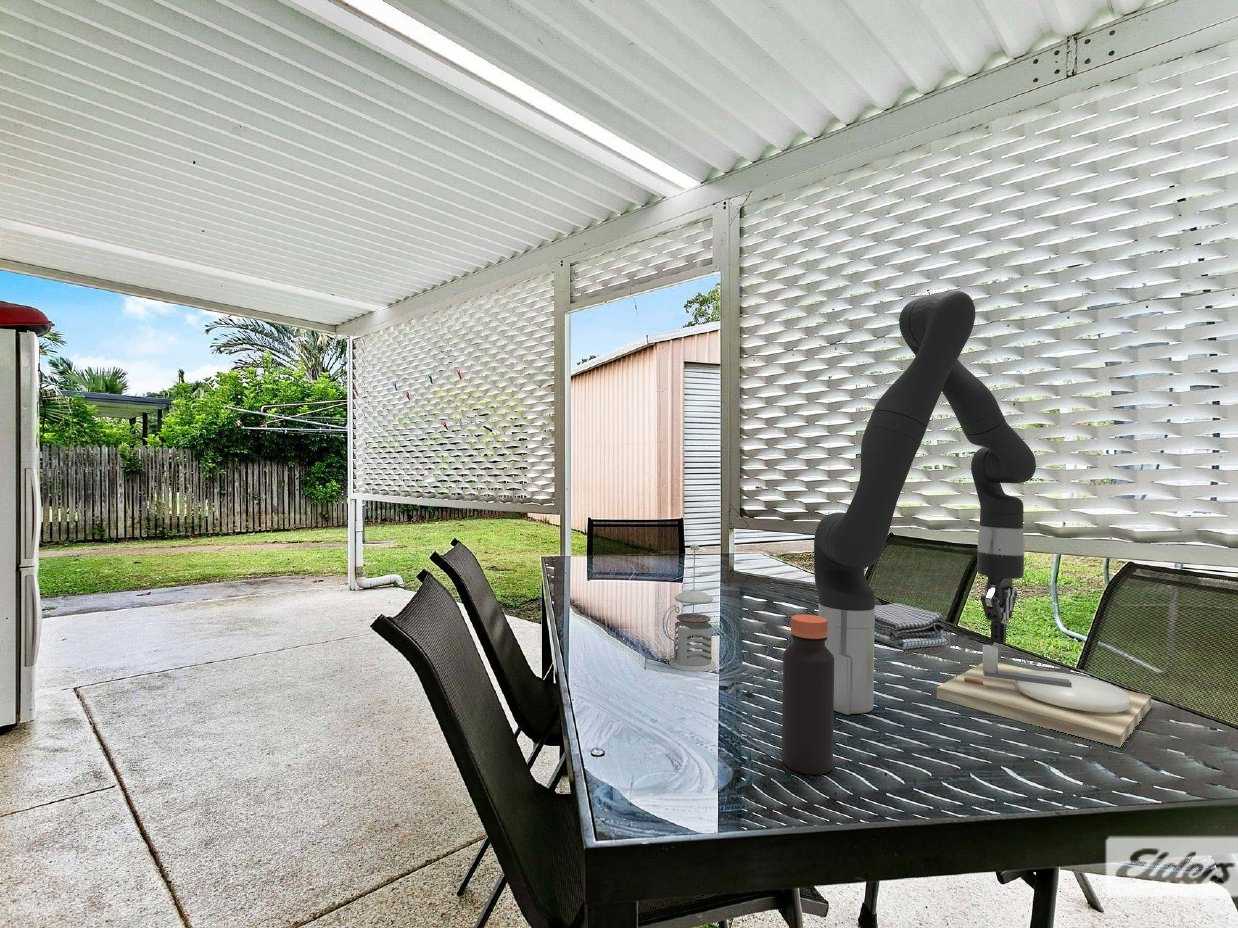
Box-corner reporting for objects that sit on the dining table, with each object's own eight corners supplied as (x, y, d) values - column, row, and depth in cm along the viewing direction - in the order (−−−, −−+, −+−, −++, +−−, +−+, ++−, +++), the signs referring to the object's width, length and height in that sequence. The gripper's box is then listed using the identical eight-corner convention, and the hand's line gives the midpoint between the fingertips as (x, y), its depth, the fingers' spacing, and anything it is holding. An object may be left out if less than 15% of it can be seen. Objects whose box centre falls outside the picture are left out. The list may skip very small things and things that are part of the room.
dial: (1155, 714, 98) (1155, 672, 98) (1021, 708, 100) (1021, 667, 100) (1086, 680, 114) (1087, 644, 114) (971, 676, 116) (972, 640, 116)
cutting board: (1119, 748, 91) (1119, 731, 91) (936, 698, 111) (936, 683, 111) (1151, 707, 108) (1151, 692, 108) (987, 669, 128) (987, 657, 128)
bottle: (772, 763, 85) (774, 617, 85) (797, 748, 89) (799, 610, 90) (817, 781, 80) (820, 627, 80) (841, 764, 84) (843, 619, 85)
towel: (893, 628, 163) (893, 598, 163) (950, 647, 146) (951, 614, 146) (845, 632, 158) (846, 601, 158) (899, 652, 141) (900, 617, 141)
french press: (725, 668, 125) (727, 546, 126) (674, 674, 121) (676, 547, 121) (701, 655, 134) (703, 540, 135) (653, 660, 130) (655, 542, 131)
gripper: (1011, 555, 109) (1009, 653, 109) (1033, 551, 118) (1031, 641, 118) (966, 550, 115) (963, 643, 115) (990, 546, 124) (988, 633, 124)
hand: (998, 642), depth 116 cm, fingers closed
